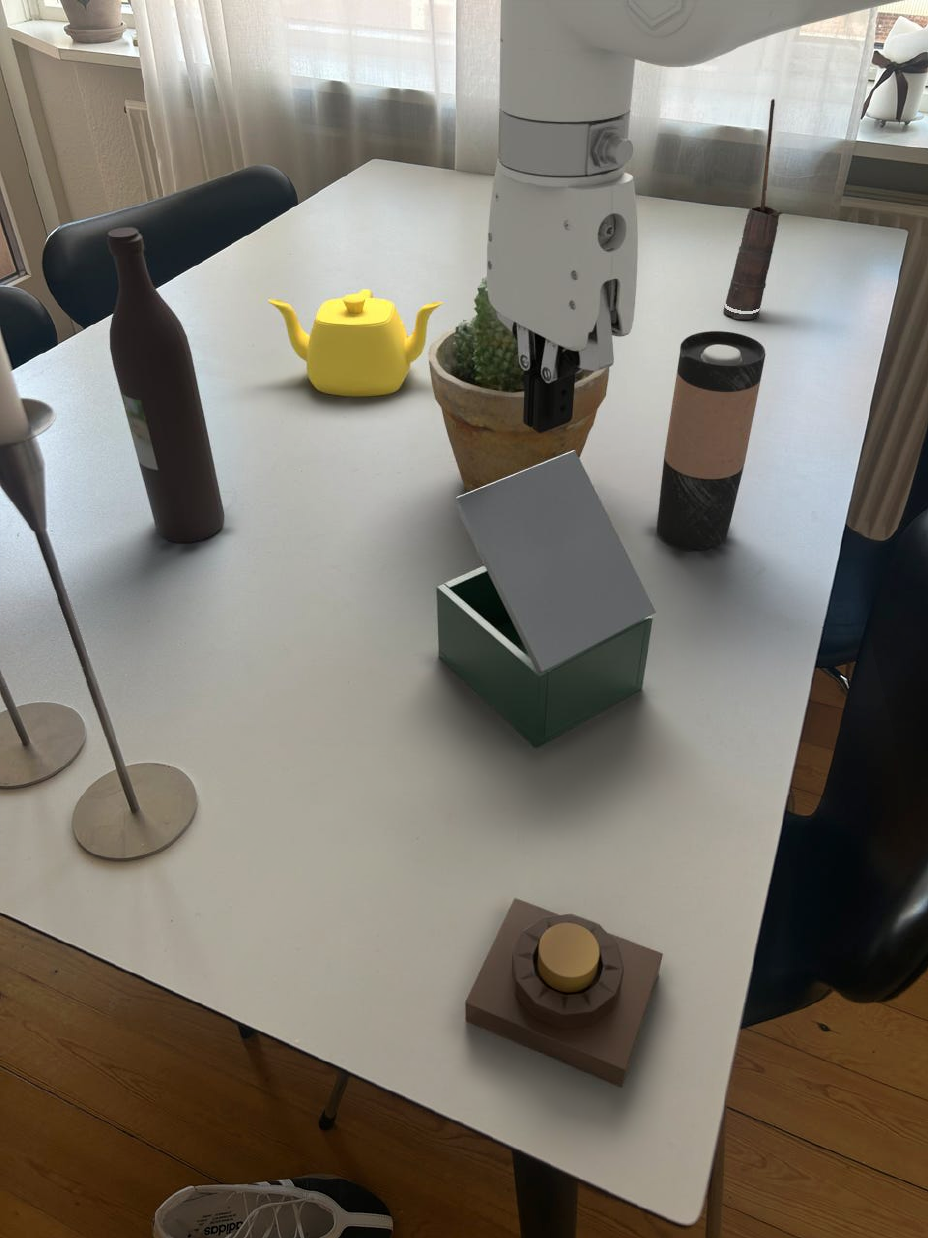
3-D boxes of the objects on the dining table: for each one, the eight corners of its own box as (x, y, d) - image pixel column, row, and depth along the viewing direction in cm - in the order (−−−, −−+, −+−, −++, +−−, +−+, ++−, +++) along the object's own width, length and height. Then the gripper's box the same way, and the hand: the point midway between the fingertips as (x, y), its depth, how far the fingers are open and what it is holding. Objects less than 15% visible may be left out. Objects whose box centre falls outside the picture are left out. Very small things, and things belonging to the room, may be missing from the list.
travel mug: (744, 532, 99) (784, 347, 86) (699, 563, 95) (734, 374, 82) (683, 502, 103) (712, 322, 90) (638, 531, 99) (662, 347, 86)
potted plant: (538, 553, 97) (550, 311, 81) (396, 494, 105) (381, 265, 89) (629, 475, 108) (655, 248, 92) (494, 427, 116) (496, 213, 100)
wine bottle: (175, 503, 104) (105, 216, 85) (236, 510, 103) (179, 221, 84) (144, 540, 99) (63, 243, 80) (208, 548, 98) (141, 248, 78)
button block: (659, 972, 62) (666, 937, 59) (622, 1088, 56) (628, 1055, 54) (513, 916, 65) (515, 881, 62) (465, 1021, 59) (464, 987, 57)
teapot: (449, 349, 133) (447, 270, 127) (440, 401, 122) (437, 318, 115) (292, 346, 135) (282, 268, 128) (268, 397, 123) (255, 315, 116)
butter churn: (794, 322, 139) (841, 107, 121) (738, 332, 137) (777, 114, 119) (757, 299, 146) (796, 92, 128) (703, 308, 143) (735, 99, 125)
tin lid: (451, 500, 72) (456, 497, 71) (570, 453, 77) (575, 449, 76) (537, 674, 72) (542, 672, 71) (651, 614, 77) (656, 612, 76)
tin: (438, 656, 85) (435, 586, 80) (540, 606, 90) (544, 538, 85) (535, 749, 76) (539, 677, 71) (642, 688, 82) (653, 617, 77)
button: (605, 951, 59) (607, 935, 58) (586, 1002, 56) (588, 987, 55) (549, 930, 60) (551, 914, 59) (528, 979, 58) (529, 963, 56)
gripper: (702, 159, 53) (661, 450, 65) (532, 108, 63) (523, 371, 75) (600, 184, 50) (576, 486, 62) (437, 126, 59) (443, 398, 71)
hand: (547, 422), depth 68 cm, fingers closed
